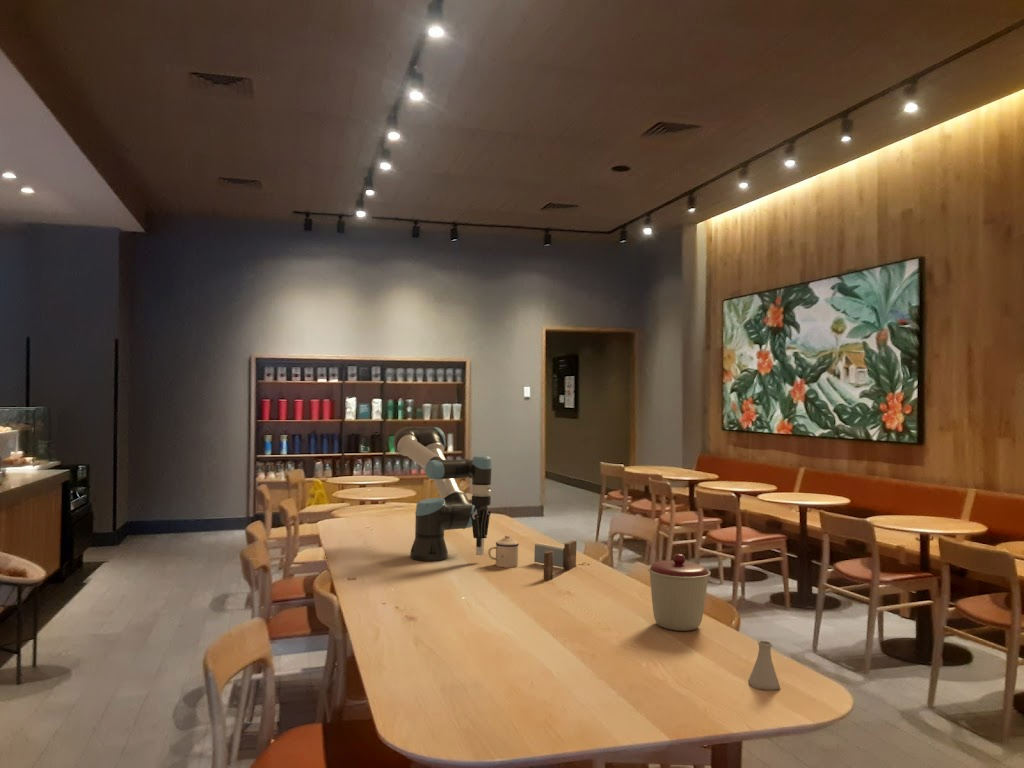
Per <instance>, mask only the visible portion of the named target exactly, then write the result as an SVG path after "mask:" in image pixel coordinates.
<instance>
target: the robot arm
mask: <svg viewBox="0 0 1024 768" xmlns="http://www.w3.org/2000/svg"><path fill="white" fill-rule="evenodd" d="M392 443H393V448H394V449H395V451H396V452H397V453H398V454H400V456H403V457H407V458H409V459H410V460H412V461H413V462H415V463H416V464H418V466H420V467H421V468H422V469H424V471H425V475H426V477H427V478H428V479H429V480H433V482H434V485H435V488H436V489H437V491H438V495H439V496H440V497H431V498H424V499H422V500H419V501H418V502H417V503H416V507H415V512H414V513H415V514H414V515H415V523H414V524H415V526H414V528H415V530H414V532H415V534H414V540H413V544H412V546H411V549H410V552H409V557H410V559H412V560H416V561H423V562H434V561H435V562H437V561H442V560H443V561H444V560H447V559H448V556H449V554H448V553H449V552H448V547H447V544H446V541H445V531H449V530H451V531H452V530H459V529H461V530H462V529H463V530H465V529H469V528H472V537H473V538H474V539H476V542H475V543H476V544H475V548H476V549H475V555H477V556H484V554H485V539H487V538H488V532H489V524H490V516H491V512H492V511H490V510H489V507H488V506H491V503H492V502H491V492H492V466H493V465H492V458H491V457H490V456H488V455H474V456H473V457H472V459H471V458H470V459H469V458H460V459H446V457H445V455H444V452H445V449H446V445H447V442H446V435H445V433H444V432H443V430H442V429H441V428H439V427H437V426H425V427H424V426H423V427H422V426H405V427H403V428H401V429H399V430H398V431H397V432H396V433H395V434H394V436H393V442H392ZM456 479H471V495H472V496H471V498H470V499H469V498H468V496H467V494H466V492H464V491H462V490H460V488H459V484H457V480H456Z"/></svg>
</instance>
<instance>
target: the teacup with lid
mask: <svg viewBox="0 0 1024 768" xmlns="http://www.w3.org/2000/svg"><path fill="white" fill-rule="evenodd" d="M519 545H520V543H519V541H517V540H515V539H513V538H511V536H510V535H508V534H507V535H504V537H502V538H501V539H500V540H496V542H495V546H491V547H489V549H488V551H487V554H488V556H489V559H491V560H493V561H495V566H497V567H499V568H503V567H504V568H506V569H510V568H515V567H517V566H518V565H519V563H518V562H519V558H518V557H519ZM492 550H495V557H493V556H492V555H491V551H492Z"/></svg>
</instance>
